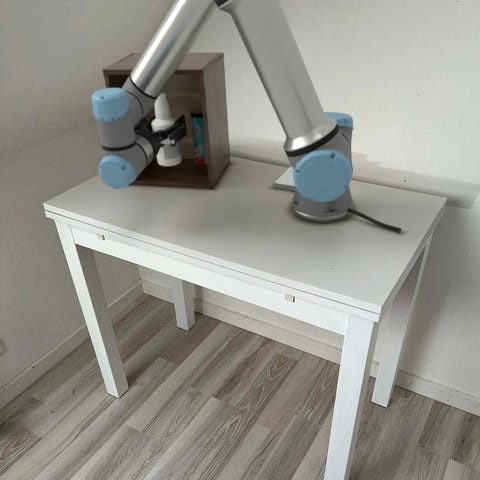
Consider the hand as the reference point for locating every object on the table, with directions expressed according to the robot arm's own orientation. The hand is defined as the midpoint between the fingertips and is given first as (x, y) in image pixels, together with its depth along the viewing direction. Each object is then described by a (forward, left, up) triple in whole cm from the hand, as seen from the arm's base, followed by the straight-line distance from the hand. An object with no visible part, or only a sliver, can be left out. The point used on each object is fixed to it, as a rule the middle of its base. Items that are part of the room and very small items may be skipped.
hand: (170, 119), depth 135 cm
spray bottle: (-2, +5, -10) cm, 11 cm away
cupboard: (0, -1, -16) cm, 16 cm away
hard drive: (-33, -12, -16) cm, 38 cm away
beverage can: (-3, -10, -8) cm, 13 cm away
